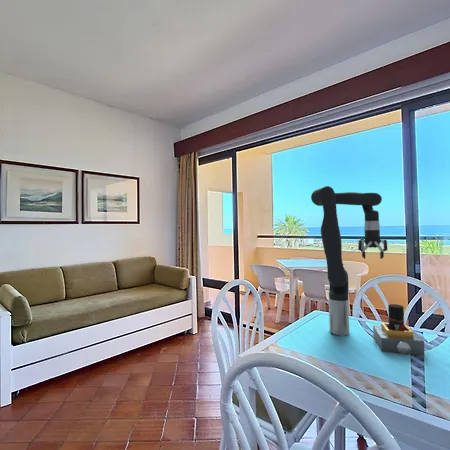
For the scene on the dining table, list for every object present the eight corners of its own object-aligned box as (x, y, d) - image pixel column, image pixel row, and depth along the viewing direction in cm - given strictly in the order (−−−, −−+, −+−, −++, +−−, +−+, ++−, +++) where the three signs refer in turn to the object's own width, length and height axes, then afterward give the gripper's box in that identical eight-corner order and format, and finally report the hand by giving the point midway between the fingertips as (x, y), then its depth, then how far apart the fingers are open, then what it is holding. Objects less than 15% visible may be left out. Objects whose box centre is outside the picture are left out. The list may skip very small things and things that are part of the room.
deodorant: (400, 337, 131) (399, 304, 132) (407, 342, 125) (406, 307, 126) (386, 336, 132) (385, 304, 132) (392, 341, 126) (391, 307, 126)
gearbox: (382, 353, 121) (382, 333, 121) (373, 337, 139) (373, 320, 139) (426, 357, 117) (425, 336, 117) (411, 340, 134) (410, 322, 134)
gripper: (359, 229, 157) (360, 259, 157) (388, 229, 153) (389, 259, 153) (356, 229, 164) (357, 257, 164) (384, 229, 160) (385, 257, 160)
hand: (372, 258), depth 159 cm, fingers open, 8 cm apart
